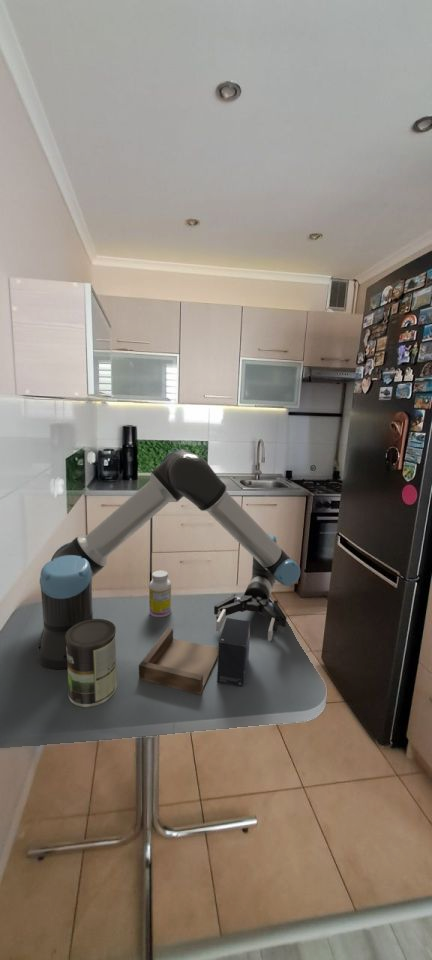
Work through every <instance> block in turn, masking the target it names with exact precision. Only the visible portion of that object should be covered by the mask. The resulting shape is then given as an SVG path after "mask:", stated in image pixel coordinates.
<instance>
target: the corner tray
mask: <svg viewBox="0 0 432 960" xmlns="http://www.w3.org/2000/svg"><path fill="white" fill-rule="evenodd" d="M217 661H218V647H215V646H210V645H206V644H201V643H196V642H191V641H186V640H181V639H176V638H174V628H172V627H167V628H166V630H165V631H164V632H163V633H162V635H161V636H160V637H159V638H158V640H157V641H156V642H155V644H154V645H153V646H152V648H151V649H150V650H149V652H148V653H147V654H146V656H145V657H143V659H142V661H141V662H140V663H139V664H138V679H139V680H141V681H145V682H148V683H152V684H157V685H160V686H164V687H169V688H173V689H177V690H180V691H185V692H188V693H193V694H195V695H199V696H200V695H202V692H203V690H204V689H205V685H206V684H207V682H208V680H209V677H210V675H211V673H212V671H213V670H214V669H213V668H214V667H215V664H216V663H217Z"/></svg>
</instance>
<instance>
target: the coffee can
mask: <svg viewBox="0 0 432 960" xmlns="http://www.w3.org/2000/svg"><path fill="white" fill-rule="evenodd" d="M116 632H117V630H116V625H115V624H114V623H113V622H112V621H110V620H108V619H104V618H93V619H90V620H86V621H82V622H79V623H77V624H75V625H74V626H72V627H71V628H70V629H69V630H68V631H67V632H66V635H65V641H66V650H67V668H66V669H67V682H68V695H67V696H68V699H69V701H70V702H71V703H72V704H73V705H74V706H76V707H81V708H92V707H97V706H99V705H102V704H104V703H105V702H107V701H108V700H110V699H111V698H112V697H113V695H114V694H115V692H116V691H117V686H118V683H117V659H116V657H117V656H116V654H117V653H116ZM91 706H92V707H91Z"/></svg>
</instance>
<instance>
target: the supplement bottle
mask: <svg viewBox="0 0 432 960" xmlns="http://www.w3.org/2000/svg"><path fill="white" fill-rule="evenodd" d="M168 574H169V573H168V572H167V571H166V570H161V569H160V570H156V571H154V572H152V573H151V576H152V580H151V581H150V582H149V584H148V589H149V591H148V592H149V593H148V594H149V598H148V599H149V602H148V603H149V614H150V615H151V616H153V617H154V618H165V617H166V616H169V615H170V614H171V613H172V582H171V580H170V579H168V578H169V575H168Z"/></svg>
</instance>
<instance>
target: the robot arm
mask: <svg viewBox="0 0 432 960" xmlns="http://www.w3.org/2000/svg"><path fill="white" fill-rule="evenodd" d="M149 477H150V479H149V481H147V483H145V484H144V485H143V486H142V487H141V488H139V490H137V491H136V492H135V493H134V494H133V495H131V496H130V497H129V498H128V499H127V500H126V501H125V502H123V503H122V504H121V505H120V506H119V507H117V508H116V509H115V510H114V511H113V512H112V513H111V514H109V515H108V517H106V518H105V519H104V520H102V521H101V522H100V523H99V524H98V525H97V526H95V528H94V529H92V530H91V531H90V532H89V533H88V534H87V535H86V534H85V535H83V534H80V535H77V536H76V537H75V538H74V539H73V540H71V542H67V543H64V544H63V545H61V546H60V547H59V548H58V549H56V550H55V552H54V554H53V555H52V557H51V559H50V560H49V561H48V562H46V563H45V564H44V565H43V567H42V568H41V570H40V576H39V585H40V592H41V593H40V594H41V595H40V596H41V606H42V608H41V609H42V621H43V628H42V632H41V635H40V638H39V642H38V646H37V659H38V662H39V663H40V664H41V665H42V666H44V667H46V668H48V669H53V670H64V669H67V650H66V641H65V635H66V632H67V631H68V630H69V629H70V628H71V627H72V626H74V625H75V624H77V623H79V622H82V621H86V620H90V619H94V612H93V609H94V608H93V578H94V577H95V575H97V574H98V573H99V572H100V571H101V570H102V569H103V568H105V566H106V565H107V562H108V561H107V560H108V557H109V556H110V555H112V553H114V552H115V551H116V550H117V549H119V547H120V546H121V545H122V544H124V543H125V542H126V541H127V540H129V538H130V537H132V536H133V535H134V534H135V533H136V532H137V531H138V530H139V529H141V528H142V527H143V526H144V525H145V524H147V522H149V520H151V519H152V518H153V517H154V516H155V515H156V514H158V513H159V512H160V511H161V510H162V509H163V508H164V507H166V505H168V504H169V503H177V502H179V501H180V500H181V499H182V498H183V497H184V498H186V499H187V500H188V501H190V502H191V503H192V504H193V505H195V506H196V507H197V508H198V510H200V511H201V512H207V513H208V514H209V515H210V516H211V517H213V519H214V520H215V521H216V522H217V523H218V524H219V525H220V526H221V527H222V528H223V529H224V530H226V531H227V533H228V534H229V535H231V536H232V538H234V539H235V541H236V542H238V544H240V546H241V547H243V548H244V550H246V551H247V553H249V554H250V555H251V556H252V567H251V569H252V572H251V573H252V574H251V579H250V581H249V583H248V586H247V587H246V590H244V591H245V592H244V594H243V595H242V596H241V597H240V596H237V594H236V593H232V594H231V596H229V597H228V598H226V599H224V600H222V601H220V602H218V603H216V604H214V606H213V610H214V612H213V614H214V615H216V616H215V617H216V619H215V620H216V622H215V623H216V624H215V625H216V626H215V627H216V629H215V630H216V632H220V630H221V628H222V627H223V624H224V623H225V621H226V618H227V617H228V616H230V615H232V614H235V613H238V612H241V613H243V612H246V611H248V612H255V613H259V614H260V616H264V617H265V618H266V619H267V620H268V621H269V627H268V630H267V631H268V632H267V641H268V642H271V641H272V638H273V634H274V633H278V630H279V628H280V627H283V628H286V627H287V616H286V615H285V613H284V612H283V610H282V609H281V607H280V606H279V601H278V600H273V602H270V601H269V600H270V597H271V594H272V592H273V591H272V590H273V587H274V586H275V584H276V581H277V582H278V583H279V584H280V585H283V586H285V587H288V586H292V585H294V584H296V582H298V580H299V578H300V576H301V567H300V565H299V564H298V563H296V561H295V560H294V559H292V558H291V557H290V556H289V555H288V554H287V553H286V552H285V551H284V550H283V549H282V548H281V547H280V546H279V545H278V544H277V537H276V536H275V535H273V534H269V533H267V532H266V531H265V530H264V529H263V528H262V527H261V525H259V524H258V523H257V522H256V521H255V519H253V518H252V516H250V514H249V513H248V512H247V511H245V509H244V508H243V507H242V506H241V505H240V504H239V503H238V502H237V501H236V500H235V499H234V497H232V495H230V494H229V492H227V490H228V488H227V485H226V484H225V483H224V482H223V481H222V479H221V478H220V477H219V476H218V475H217V473H216V472H215V471H214V470H213V468H212V467H211V466H210V465H209V464H208V463H207V461H206V460H205V459H204V458H203V457H201V456H200V455H198V454H195V453H194V452H191V451H190V450H187V449H177V450H173V451H171V452H169V453H168V454H166V455H165V457H163V459H162V461H161V463H160V464H159V465H158V466H157V467H156V468H154V470H152V471H151V472H150V476H149Z"/></svg>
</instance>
